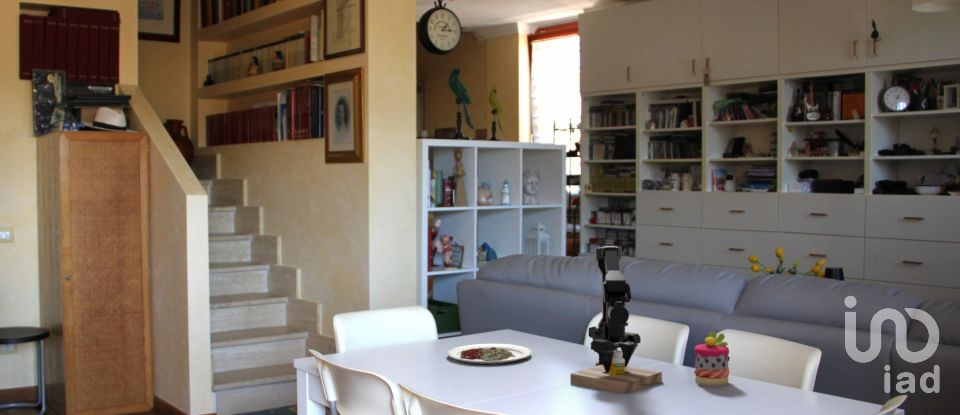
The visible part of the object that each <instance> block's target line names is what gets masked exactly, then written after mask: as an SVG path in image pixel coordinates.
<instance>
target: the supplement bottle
mask: <svg viewBox="0 0 960 415" xmlns="http://www.w3.org/2000/svg"><path fill="white" fill-rule="evenodd" d="M622 356H623V352H622V351H621V350H614V354H613V359H612V363H611V367H610V371H609V372H608V374H610V375H615V376H621V375H625V360H624V358H622Z"/></svg>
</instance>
